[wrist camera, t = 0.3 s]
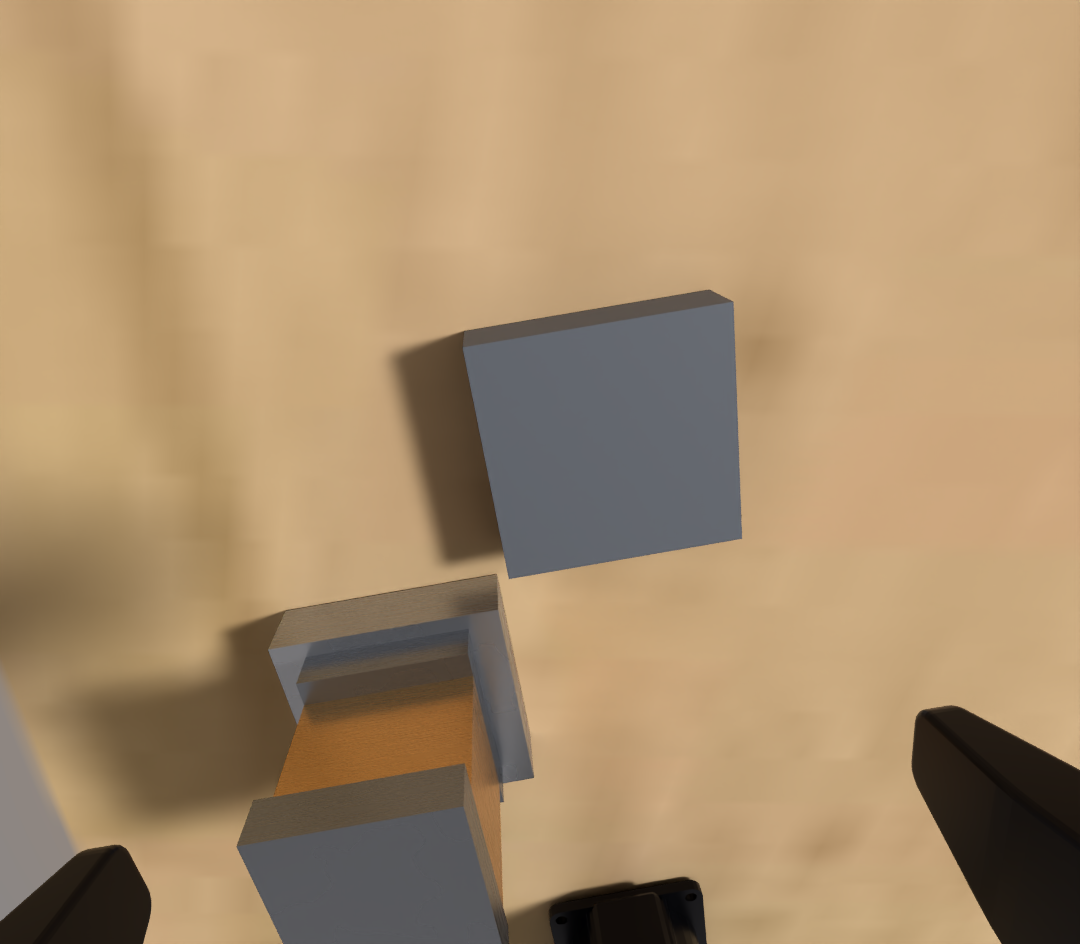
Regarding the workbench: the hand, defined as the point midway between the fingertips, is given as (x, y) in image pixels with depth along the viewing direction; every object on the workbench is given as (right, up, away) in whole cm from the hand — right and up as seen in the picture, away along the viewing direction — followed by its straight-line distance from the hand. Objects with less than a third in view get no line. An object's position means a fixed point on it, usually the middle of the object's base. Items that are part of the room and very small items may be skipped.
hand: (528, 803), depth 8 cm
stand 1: (-4, -3, +16) cm, 17 cm away
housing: (-4, -4, +14) cm, 15 cm away
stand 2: (+2, +5, +13) cm, 14 cm away
